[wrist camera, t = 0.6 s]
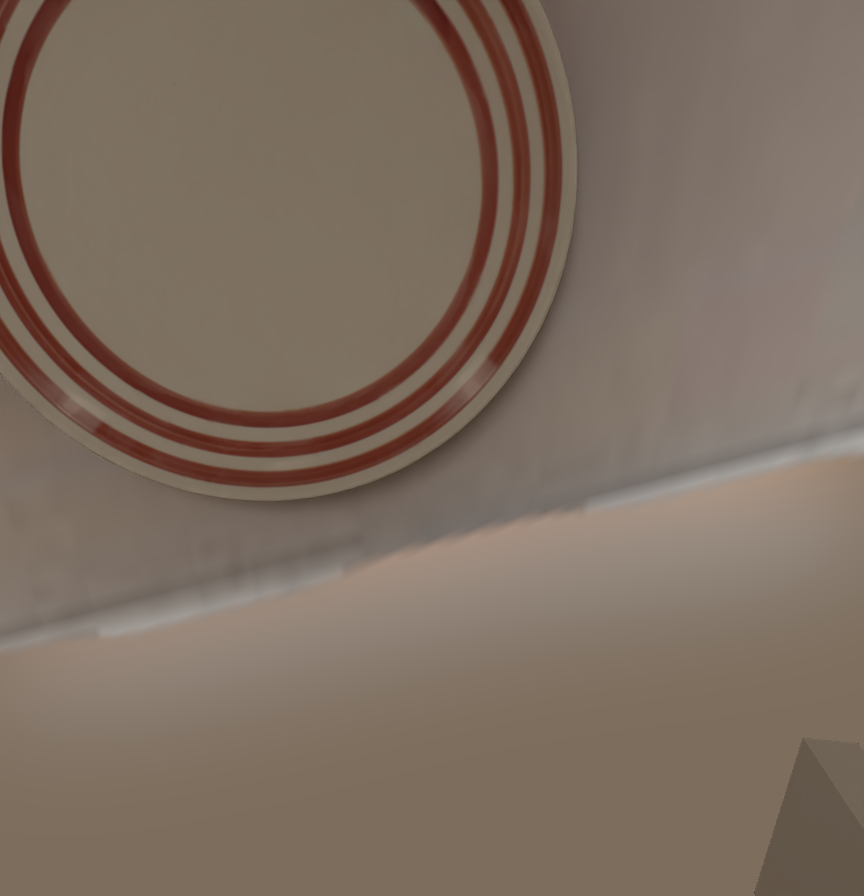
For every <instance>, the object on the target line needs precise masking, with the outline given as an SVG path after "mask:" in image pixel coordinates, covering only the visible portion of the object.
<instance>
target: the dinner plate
mask: <svg viewBox="0 0 864 896" xmlns="http://www.w3.org/2000/svg"><path fill="white" fill-rule="evenodd" d="M577 163H578V156H577V142H576V129H575V120H574V111H573V105H572V100H571V95H570V89H569V84H568V80H567V76H566V73H565V69H564V66H563V62H562V59H561V55H560V51H559V48H558V45H557V42H556V40H555V37H554V34H553V32H552V29H551V26H550V24H549V21H548V18H547V16H546V14H545V12H544V9H543V7H542V5H541V3H540V0H0V373H1V374H2V376H3V377H4V378H5V379H6V380H7V381H8V382H9V383H10V384H11V385H12V386H13V387H14V389H15V390H16V391H17V392H18V393H19V394H20V395H21V396H22V397H23V398H24V399H25V400H26V401H27V402H28V403H29V404H30V405H31V406H32V407H33V408H35V409H36V410H37V411H38V412H39V413H40V414H41V415H43V416H44V417H45V418H46V419H48V420H49V421H50V422H51V423H52V424H54V425H55V426H56V427H58V428H59V429H60V430H61V431H63V432H64V433H65V434H67V435H68V436H70V437H71V438H73V439H74V440H75V441H77V442H78V443H80V444H81V445H83V446H84V447H86V448H88V449H89V450H91V451H92V452H94V453H96V454H97V455H99V456H101V457H103V458H105V459H107V460H108V461H110V462H112V463H114V464H116V465H118V466H120V467H122V468H124V469H126V470H129V471H131V472H133V473H136V474H138V475H140V476H143V477H145V478H148V479H150V480H153V481H155V482H158V483H161V484H164V485H167V486H170V487H174V488H177V489H180V490H184V491H188V492H192V493H196V494H201V495H206V496H212V497H218V498H227V499H235V500H249V501H282V500H295V499H305V498H312V497H319V496H324V495H329V494H334V493H337V492H341V491H345V490H349V489H352V488H355V487H359V486H362V485H365V484H368V483H371V482H374V481H376V480H378V479H381V478H383V477H386V476H388V475H390V474H392V473H394V472H397V471H399V470H401V469H403V468H405V467H407V466H409V465H411V464H412V463H414V462H415V461H417V460H419V459H420V458H422V457H423V456H425V455H426V454H428V453H430V452H431V451H433V450H434V449H436V448H437V447H439V446H440V445H442V444H443V443H445V442H446V441H447V440H449V439H450V438H451V437H452V436H454V435H455V434H456V433H458V432H459V431H460V430H461V429H462V428H463V427H464V426H466V425H467V424H468V423H469V422H470V421H471V420H472V419H473V418H474V417H475V416H476V415H478V414H479V413H480V412H481V410H482V409H483V408H484V407H485V406H486V405H487V404H488V403H489V402H490V401H491V400H492V399H493V398H494V396H495V395H496V394H497V393H498V392H499V390H500V389H501V388H502V387H503V386H504V384H505V383H506V382H507V380H508V379H509V378H510V376H511V375H512V374H513V372H514V371H515V370H516V368H517V367H518V366H519V364H520V363H521V361H522V359H523V358H524V356H525V355H526V353H527V351H528V350H529V348H530V346H531V345H532V343H533V341H534V339H535V337H536V336H537V334H538V332H539V330H540V328H541V327H542V325H543V323H544V321H545V318H546V316H547V314H548V311H549V309H550V307H551V304H552V302H553V299H554V296H555V294H556V291H557V288H558V285H559V282H560V280H561V276H562V272H563V269H564V265H565V262H566V258H567V254H568V249H569V245H570V240H571V236H572V231H573V224H574V217H575V208H576V196H577Z"/></svg>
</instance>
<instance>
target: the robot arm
mask: <svg viewBox="0 0 864 896" xmlns="http://www.w3.org/2000/svg"><path fill="white" fill-rule="evenodd" d="M754 894H755V896H864V750H863V749H862V747H861V746H860V745H859V743H850V742H840V741H831V740H821V739H811V738H803V739H802V742H801V746H800V748H799V752H798V755H797V758H796V761H795V764H794V767H793V771H792V774H791V777H790V780H789V783H788V786H787V790H786V793H785V796H784V799H783V802H782V806H781V809H780V812H779V815H778V818H777V821H776V825H775V828H774V831H773V835H772V837H771V841H770V844H769V847H768V850H767V853H766V857H765V859H764V863H763V866H762V869H761V872H760V875H759V879H758V882H757V885H756V888H755V891H754Z"/></svg>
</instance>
